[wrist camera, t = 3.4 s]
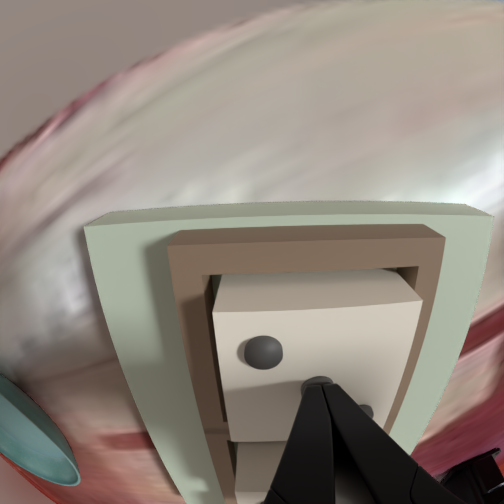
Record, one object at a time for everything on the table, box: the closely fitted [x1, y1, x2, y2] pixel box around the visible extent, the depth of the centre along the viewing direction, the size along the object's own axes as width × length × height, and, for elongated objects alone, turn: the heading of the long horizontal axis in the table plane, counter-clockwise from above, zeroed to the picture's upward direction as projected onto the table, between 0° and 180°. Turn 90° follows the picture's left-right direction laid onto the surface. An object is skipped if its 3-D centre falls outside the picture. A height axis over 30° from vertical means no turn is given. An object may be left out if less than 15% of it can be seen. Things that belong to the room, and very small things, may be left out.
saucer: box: [0, 374, 81, 486], centre depth 16 cm, size 15×15×3 cm
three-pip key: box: [212, 268, 423, 442], centre depth 9 cm, size 5×5×3 cm
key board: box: [84, 201, 494, 504], centre depth 13 cm, size 22×14×3 cm, turn 2°
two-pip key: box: [235, 441, 287, 504], centre depth 10 cm, size 5×5×3 cm
